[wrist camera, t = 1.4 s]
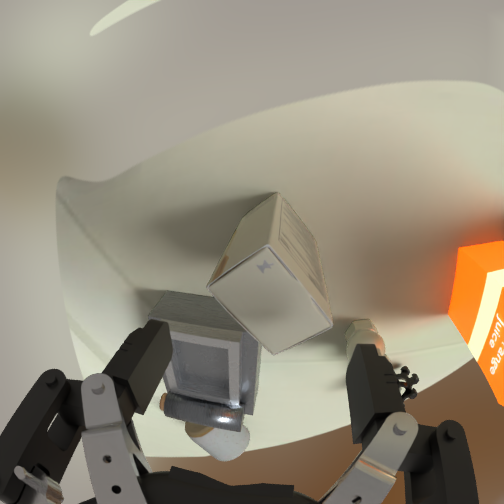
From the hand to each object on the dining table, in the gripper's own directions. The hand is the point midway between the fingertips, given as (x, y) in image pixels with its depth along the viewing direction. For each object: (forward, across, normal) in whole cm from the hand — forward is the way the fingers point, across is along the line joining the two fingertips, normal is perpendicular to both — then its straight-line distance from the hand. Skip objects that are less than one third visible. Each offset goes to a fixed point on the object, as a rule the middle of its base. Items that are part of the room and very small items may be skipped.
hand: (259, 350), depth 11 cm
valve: (+16, -13, +14) cm, 25 cm away
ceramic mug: (+16, +7, +32) cm, 37 cm away
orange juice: (+16, -24, +3) cm, 29 cm away
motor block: (+16, +6, +15) cm, 23 cm away
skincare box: (+16, 0, 0) cm, 16 cm away
